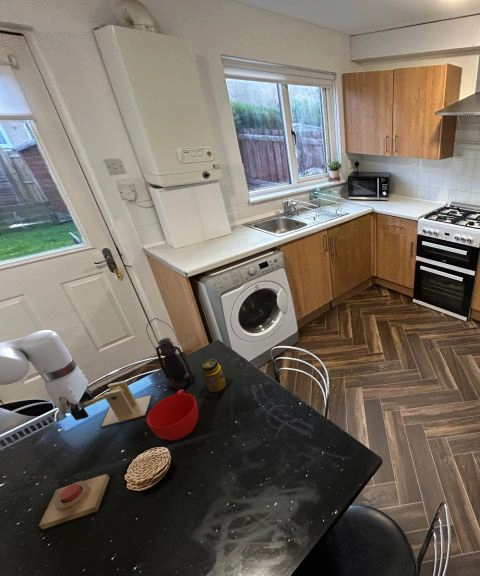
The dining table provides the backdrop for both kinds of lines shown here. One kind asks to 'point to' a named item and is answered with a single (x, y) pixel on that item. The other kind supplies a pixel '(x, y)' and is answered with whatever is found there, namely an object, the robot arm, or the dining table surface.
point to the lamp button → (70, 493)
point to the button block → (75, 502)
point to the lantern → (173, 363)
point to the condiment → (213, 375)
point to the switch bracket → (124, 405)
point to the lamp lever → (86, 402)
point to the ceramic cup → (174, 416)
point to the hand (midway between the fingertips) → (85, 410)
